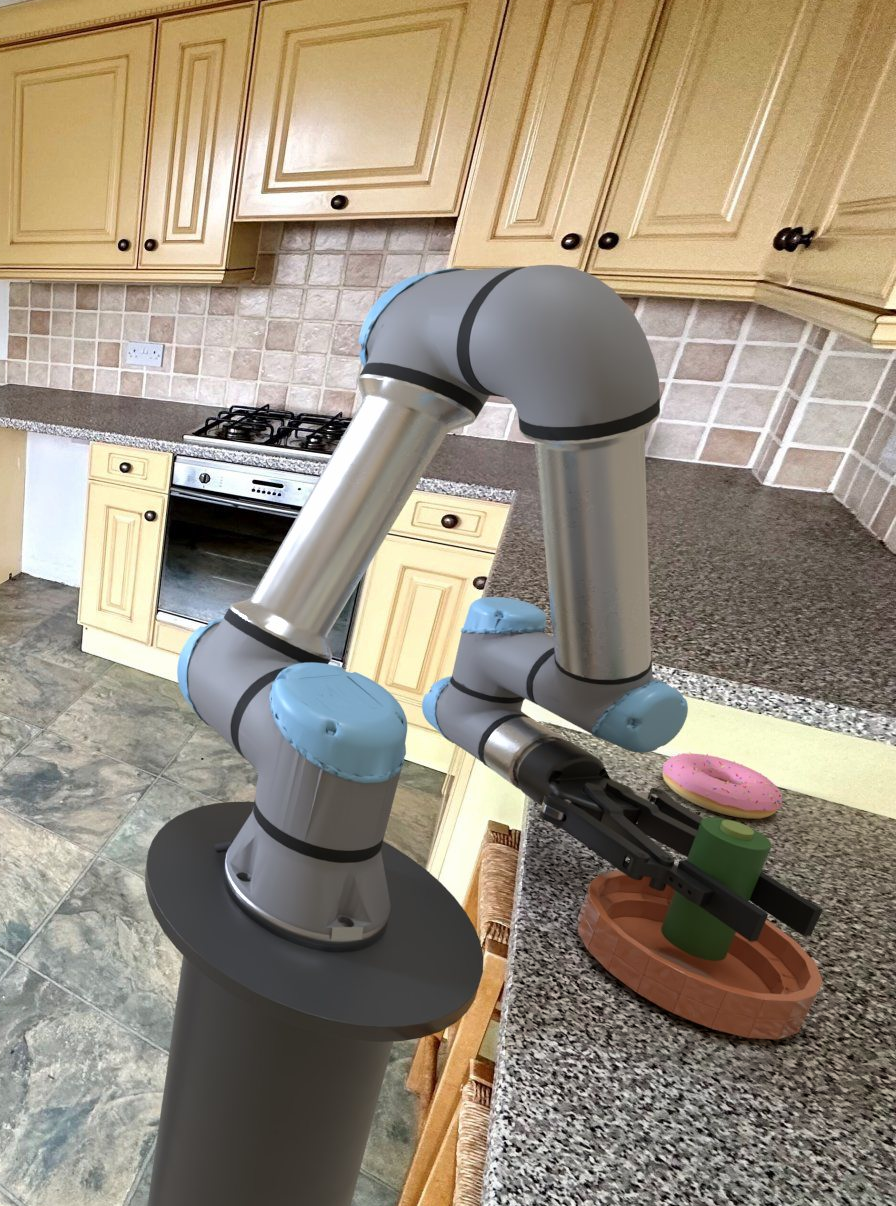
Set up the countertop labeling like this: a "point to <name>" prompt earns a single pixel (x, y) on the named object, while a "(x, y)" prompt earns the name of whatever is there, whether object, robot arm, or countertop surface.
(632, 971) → the bowl
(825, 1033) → the countertop surface
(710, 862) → the battery
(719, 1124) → the countertop surface
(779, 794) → the doughnut
